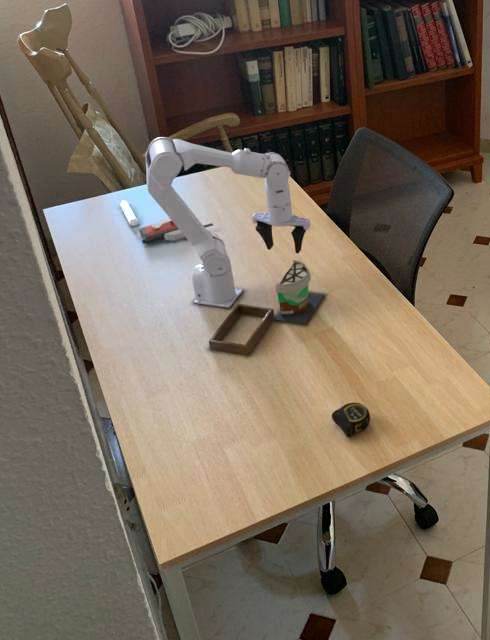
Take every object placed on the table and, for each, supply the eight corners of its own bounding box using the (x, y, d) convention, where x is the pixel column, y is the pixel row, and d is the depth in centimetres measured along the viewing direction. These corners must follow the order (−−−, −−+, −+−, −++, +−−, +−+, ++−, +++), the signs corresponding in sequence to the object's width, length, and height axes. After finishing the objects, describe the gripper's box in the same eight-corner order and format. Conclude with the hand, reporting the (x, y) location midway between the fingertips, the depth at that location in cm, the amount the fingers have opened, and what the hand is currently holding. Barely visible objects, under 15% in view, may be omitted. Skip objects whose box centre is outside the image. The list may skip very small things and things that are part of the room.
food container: (303, 322, 192) (299, 288, 187) (279, 319, 193) (274, 285, 188) (320, 294, 202) (317, 261, 197) (297, 291, 203) (293, 258, 198)
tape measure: (331, 422, 163) (329, 409, 161) (360, 410, 167) (359, 396, 165) (346, 442, 159) (345, 429, 157) (376, 429, 162) (375, 415, 160)
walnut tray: (210, 349, 184) (208, 341, 182) (239, 311, 196) (237, 303, 195) (247, 355, 182) (246, 346, 180) (274, 316, 195) (273, 308, 193)
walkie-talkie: (146, 250, 220) (215, 230, 230) (143, 236, 218) (212, 216, 228) (136, 237, 226) (203, 217, 236) (133, 223, 224) (201, 204, 234)
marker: (124, 205, 244) (136, 226, 233) (117, 203, 243) (128, 225, 231) (126, 197, 244) (139, 219, 232) (120, 196, 242) (131, 217, 231)
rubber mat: (274, 320, 193) (274, 319, 193) (294, 291, 204) (294, 290, 204) (305, 325, 192) (305, 324, 192) (324, 295, 203) (324, 294, 203)
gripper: (312, 198, 197) (316, 245, 204) (258, 191, 199) (264, 238, 206) (302, 211, 191) (306, 259, 198) (246, 204, 193) (252, 252, 200)
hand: (284, 249), depth 202 cm, fingers open, 7 cm apart
